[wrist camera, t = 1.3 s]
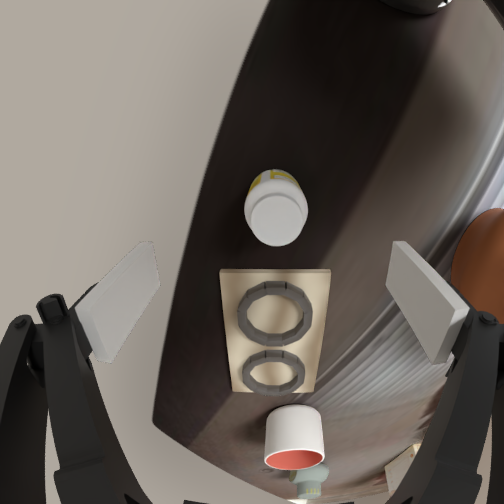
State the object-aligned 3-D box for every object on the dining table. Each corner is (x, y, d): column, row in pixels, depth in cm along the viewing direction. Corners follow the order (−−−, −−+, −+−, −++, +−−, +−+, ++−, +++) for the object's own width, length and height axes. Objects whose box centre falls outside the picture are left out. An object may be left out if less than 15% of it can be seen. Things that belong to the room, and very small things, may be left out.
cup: (320, 425, 47) (324, 467, 38) (270, 429, 48) (268, 471, 39) (319, 398, 43) (324, 445, 34) (262, 403, 44) (259, 451, 35)
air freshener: (299, 456, 54) (300, 491, 45) (330, 457, 54) (333, 490, 45) (287, 471, 58) (286, 501, 49) (315, 471, 58) (317, 501, 49)
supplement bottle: (258, 223, 31) (252, 262, 22) (243, 177, 29) (229, 197, 20) (306, 210, 30) (319, 244, 21) (292, 162, 28) (301, 176, 19)
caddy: (329, 269, 33) (333, 279, 31) (312, 387, 42) (313, 399, 39) (220, 269, 34) (217, 279, 32) (233, 386, 43) (231, 398, 40)
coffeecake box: (400, 464, 58) (410, 513, 41) (383, 466, 58) (391, 518, 40) (429, 441, 52) (445, 495, 35) (412, 443, 52) (426, 501, 34)
